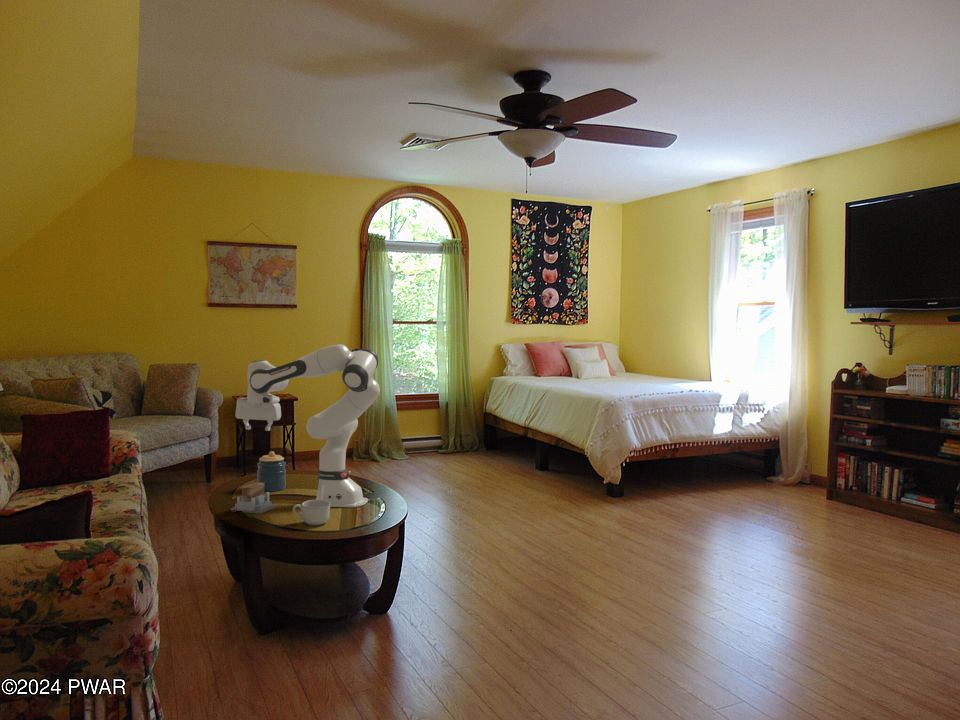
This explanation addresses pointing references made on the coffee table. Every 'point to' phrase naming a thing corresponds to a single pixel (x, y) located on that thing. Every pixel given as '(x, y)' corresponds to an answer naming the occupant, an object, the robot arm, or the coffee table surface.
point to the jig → (253, 505)
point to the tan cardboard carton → (252, 490)
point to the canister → (272, 472)
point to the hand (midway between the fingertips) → (257, 430)
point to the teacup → (314, 511)
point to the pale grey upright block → (256, 500)
